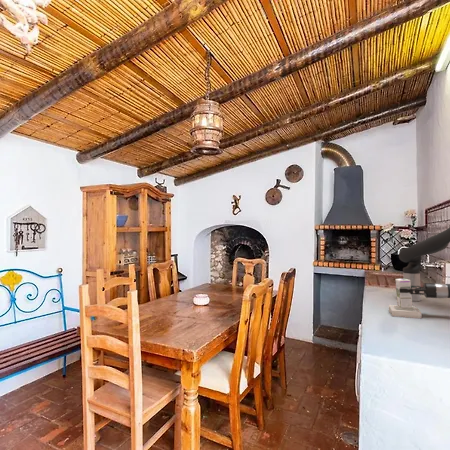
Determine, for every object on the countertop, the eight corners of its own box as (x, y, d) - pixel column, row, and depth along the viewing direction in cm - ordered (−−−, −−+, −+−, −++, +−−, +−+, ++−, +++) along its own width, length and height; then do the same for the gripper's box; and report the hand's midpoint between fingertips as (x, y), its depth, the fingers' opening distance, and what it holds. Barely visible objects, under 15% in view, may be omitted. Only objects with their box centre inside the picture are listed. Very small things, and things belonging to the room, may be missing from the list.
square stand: (388, 310, 167) (388, 305, 168) (416, 312, 163) (415, 306, 163) (392, 316, 155) (391, 310, 156) (421, 318, 151) (421, 312, 151)
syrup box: (413, 308, 156) (411, 279, 156) (400, 307, 157) (398, 279, 158) (408, 305, 161) (406, 278, 162) (396, 305, 162) (394, 278, 163)
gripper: (431, 281, 161) (396, 280, 167) (439, 285, 148) (400, 284, 154) (432, 295, 161) (396, 294, 167) (440, 300, 147) (401, 299, 153)
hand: (398, 289), depth 160 cm, fingers closed on syrup box, 6 cm apart
